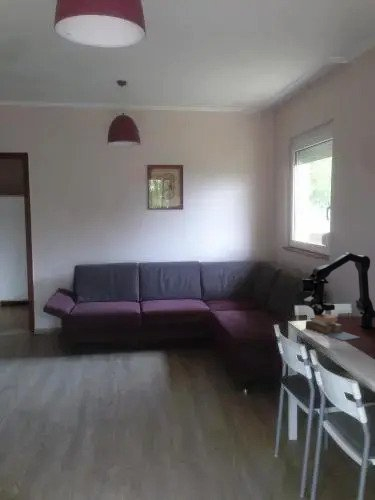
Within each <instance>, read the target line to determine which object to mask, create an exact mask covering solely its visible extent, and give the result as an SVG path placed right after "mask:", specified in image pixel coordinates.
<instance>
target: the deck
mask: <svg viewBox="0 0 375 500" xmlns="http://www.w3.org/2000/svg"><path fill="white" fill-rule="evenodd" d="M305 329H306V330H309V331H312V332H315V333H318V334H320V335H324V336H326V334H331V333H337V332H343V324H340V323H337V322H336V324H333V325H326V326H324V325H321V324H317V323H314V322H313V319H312V320H306V321H305Z"/></svg>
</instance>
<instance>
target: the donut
mask: <svg viewBox="0 0 375 500" xmlns="http://www.w3.org/2000/svg"><path fill="white" fill-rule="evenodd" d="M312 311H313V310H312ZM312 313H313V315H314V316H315V314H314V311H313V312H312ZM324 314H328V315H332V310H329V311H326V310H324Z"/></svg>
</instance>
